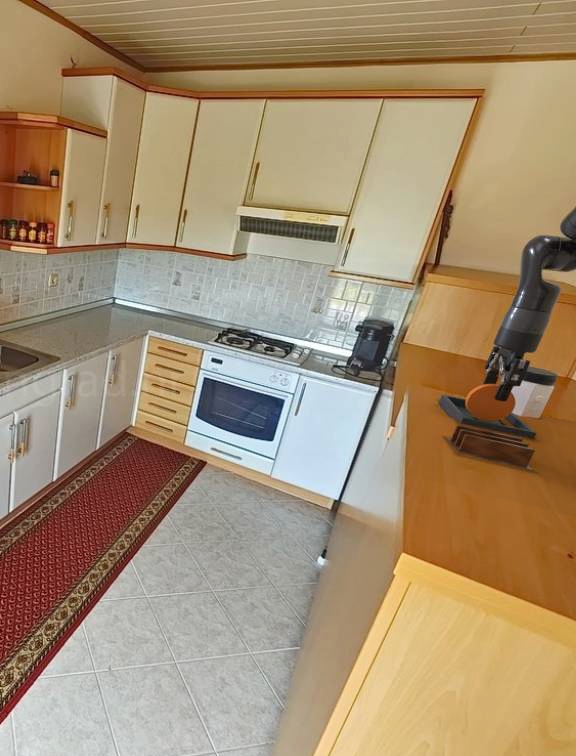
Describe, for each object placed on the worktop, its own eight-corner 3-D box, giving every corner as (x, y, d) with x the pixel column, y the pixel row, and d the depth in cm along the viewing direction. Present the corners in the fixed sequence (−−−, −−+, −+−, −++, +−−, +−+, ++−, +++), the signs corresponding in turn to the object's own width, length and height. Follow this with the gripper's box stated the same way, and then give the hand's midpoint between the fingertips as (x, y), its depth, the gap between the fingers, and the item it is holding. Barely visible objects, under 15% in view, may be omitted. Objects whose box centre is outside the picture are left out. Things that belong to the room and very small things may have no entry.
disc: (503, 423, 117) (520, 389, 114) (505, 425, 115) (522, 390, 112) (458, 413, 120) (474, 379, 117) (460, 415, 119) (476, 381, 115)
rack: (512, 456, 100) (522, 436, 99) (531, 476, 92) (542, 454, 91) (443, 440, 104) (451, 421, 103) (456, 458, 97) (465, 437, 95)
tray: (501, 416, 123) (505, 406, 122) (531, 443, 108) (536, 433, 107) (438, 403, 128) (442, 394, 127) (458, 427, 113) (463, 417, 112)
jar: (511, 418, 122) (532, 373, 118) (486, 406, 130) (505, 363, 126) (547, 422, 122) (569, 377, 118) (520, 409, 130) (540, 367, 126)
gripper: (558, 338, 102) (525, 408, 108) (529, 325, 115) (500, 389, 120) (514, 331, 105) (484, 400, 111) (490, 320, 117) (464, 382, 123)
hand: (493, 394), depth 115 cm, fingers open, 8 cm apart
